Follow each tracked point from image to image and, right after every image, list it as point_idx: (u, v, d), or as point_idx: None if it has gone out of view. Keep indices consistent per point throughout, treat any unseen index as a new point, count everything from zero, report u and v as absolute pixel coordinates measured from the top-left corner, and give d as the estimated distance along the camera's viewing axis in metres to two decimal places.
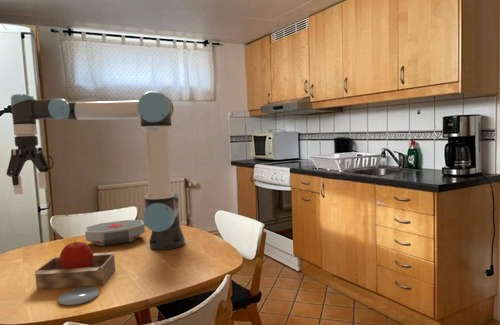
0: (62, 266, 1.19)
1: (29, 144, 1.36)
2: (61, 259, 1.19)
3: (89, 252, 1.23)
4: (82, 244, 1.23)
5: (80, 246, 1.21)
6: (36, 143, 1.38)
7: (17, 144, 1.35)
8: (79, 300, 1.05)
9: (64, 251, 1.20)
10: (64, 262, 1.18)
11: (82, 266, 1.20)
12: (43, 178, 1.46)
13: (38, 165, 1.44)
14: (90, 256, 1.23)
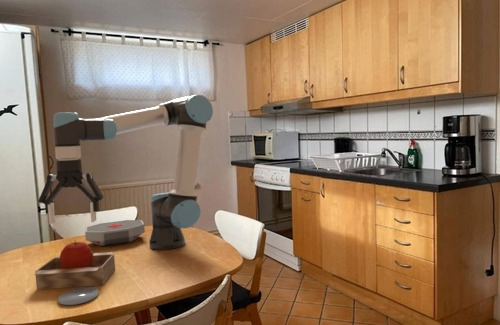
0: (62, 266, 1.19)
1: (58, 170, 1.18)
2: (61, 259, 1.19)
3: (89, 252, 1.23)
4: (82, 244, 1.23)
5: (80, 246, 1.21)
6: (65, 169, 1.17)
7: None
8: (79, 300, 1.05)
9: (64, 251, 1.20)
10: (64, 262, 1.18)
11: (82, 266, 1.20)
12: None
13: None
14: (90, 256, 1.23)
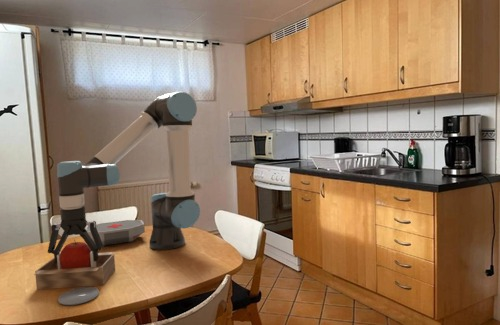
0: (62, 266, 1.19)
1: (62, 219, 1.19)
2: (61, 259, 1.19)
3: (89, 252, 1.23)
4: (82, 244, 1.23)
5: (80, 246, 1.21)
6: (69, 218, 1.19)
7: None
8: (79, 300, 1.05)
9: (64, 251, 1.20)
10: (64, 262, 1.18)
11: (82, 266, 1.20)
12: None
13: None
14: None
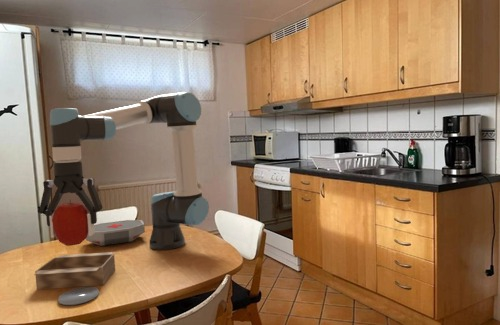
0: (55, 228, 1.04)
1: (55, 174, 1.04)
2: (54, 220, 1.04)
3: (86, 213, 1.07)
4: (78, 204, 1.07)
5: (76, 206, 1.06)
6: (64, 173, 1.03)
7: None
8: (79, 300, 1.05)
9: (57, 211, 1.04)
10: (57, 223, 1.03)
11: (78, 228, 1.05)
12: None
13: None
14: None
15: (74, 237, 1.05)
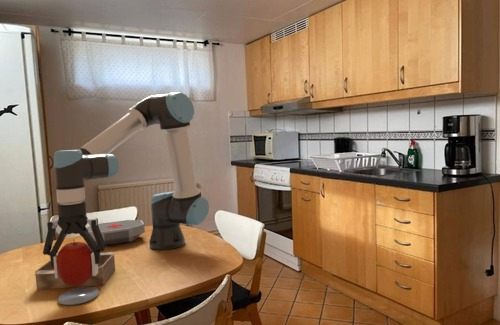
0: (59, 269, 1.04)
1: (60, 215, 1.04)
2: (58, 261, 1.04)
3: (90, 253, 1.08)
4: (82, 244, 1.08)
5: (80, 247, 1.07)
6: (68, 215, 1.04)
7: None
8: (79, 300, 1.05)
9: (61, 252, 1.05)
10: (61, 265, 1.04)
11: (82, 269, 1.05)
12: None
13: None
14: None
15: (78, 278, 1.05)
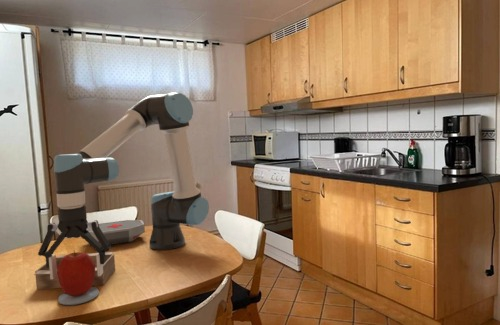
0: (60, 281, 1.05)
1: (60, 220, 1.04)
2: (59, 273, 1.04)
3: (90, 264, 1.08)
4: (82, 255, 1.08)
5: (80, 258, 1.06)
6: (68, 219, 1.04)
7: None
8: (79, 300, 1.05)
9: (62, 264, 1.05)
10: (62, 277, 1.04)
11: (83, 281, 1.05)
12: None
13: None
14: (92, 269, 1.08)
15: (79, 289, 1.06)
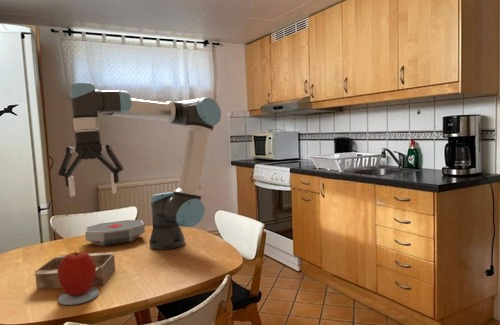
0: (60, 280, 1.05)
1: (77, 141, 1.17)
2: (59, 272, 1.05)
3: (91, 264, 1.08)
4: (83, 255, 1.08)
5: (81, 257, 1.07)
6: (85, 140, 1.16)
7: None
8: (79, 300, 1.05)
9: (63, 263, 1.05)
10: (62, 276, 1.04)
11: (83, 280, 1.05)
12: None
13: None
14: (92, 268, 1.08)
15: (80, 289, 1.06)
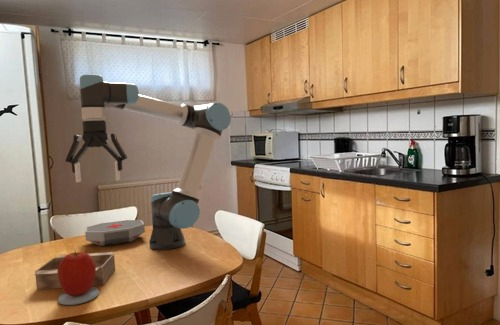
0: (60, 280, 1.05)
1: (84, 130, 1.23)
2: (59, 272, 1.05)
3: (91, 264, 1.08)
4: (83, 255, 1.08)
5: (81, 257, 1.07)
6: (92, 129, 1.23)
7: None
8: (79, 300, 1.05)
9: (63, 263, 1.05)
10: (62, 276, 1.04)
11: (83, 280, 1.05)
12: None
13: None
14: (92, 268, 1.08)
15: (79, 289, 1.06)
